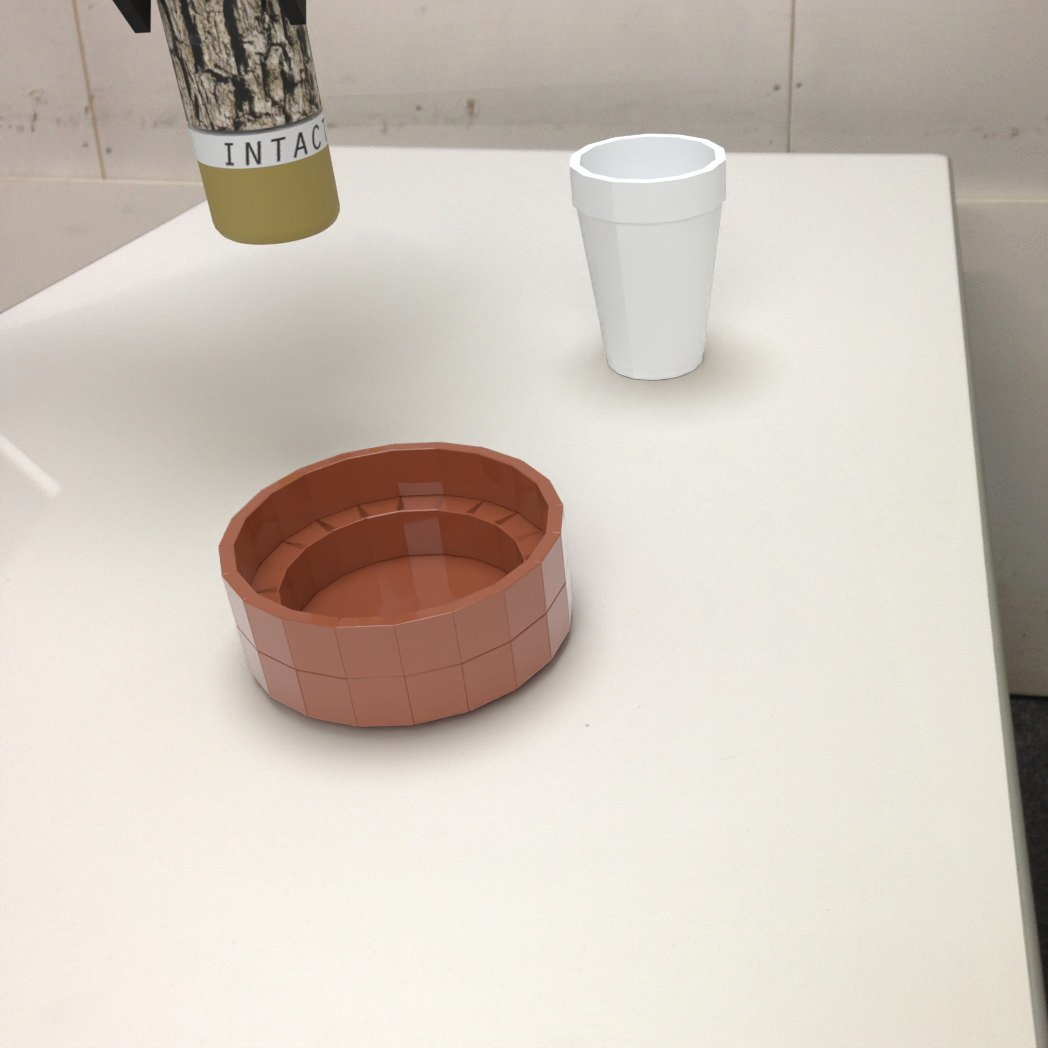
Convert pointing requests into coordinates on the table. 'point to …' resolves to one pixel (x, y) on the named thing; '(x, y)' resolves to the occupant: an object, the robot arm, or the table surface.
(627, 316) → the foam cup
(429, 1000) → the table surface
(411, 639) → the bowl
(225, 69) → the paper tube
